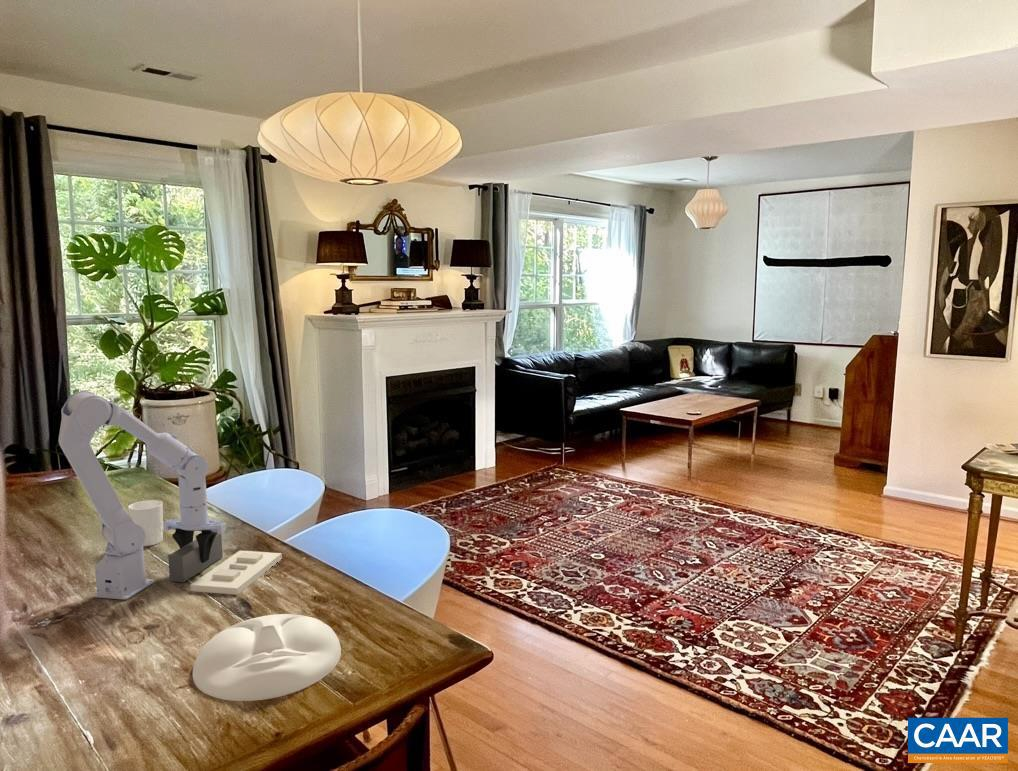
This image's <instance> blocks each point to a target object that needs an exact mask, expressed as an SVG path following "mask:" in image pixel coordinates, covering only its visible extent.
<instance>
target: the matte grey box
mask: <svg viewBox="0 0 1018 771" xmlns="http://www.w3.org/2000/svg"><path fill="white" fill-rule="evenodd" d="M223 557H224V556H223V537H222V534H218V533H217V535H216V537H215V539H214V541H213V544H212V547H211V550H210V555H209V560H207V561H206V562H204V563H201V560H200V549H199V545H198V542H197V539H196V538H195V539H193V541H192V542H191V543H189V544H187V545H185V546H184V547H182V548H180V547H179V548H178V549H177V550H176V551H173V552H172V553H171V554H170V553H169V555H168V568H169V571H168V572H169V581H170V582H179V583H185V582H186V581H188V580H190V579H191V578H193V577H195V576H196V575H198V574H199V573H201V572H202V571H204V570H205V569H206V568H208V567H209V566H212V565H213V564H214V563H216V562H218V561H219V560H220V559H222V558H223Z"/></svg>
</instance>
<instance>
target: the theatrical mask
mask: <svg viewBox="0 0 1018 771" xmlns="http://www.w3.org/2000/svg"><path fill="white" fill-rule="evenodd" d="M341 655H342V647H341V642H340V640H339V638H338V636H337V634H336V633H335V631H334V630H333V628H332V627H331V626H330V625H328V624H326V623H325V622H323V621H321V620H320V619H318V618H315V617H310V616H307V615H302V614H292V613H280V614H269V615H268V614H267V615H262V616H258V617H253V618H250V619H246V620H244V621H241V622H238V623H235V624H233V625H231V626H228V627H226V628H225V629H223V630H221V631H219V632H218V633H216V634H215V635H214V636H213V637H212V638H211V639H210V640H208V642H207V643H205V644H204V645H203V646H202V647H201V649H200V650H199V652H198V653H197V655H196V658H195V659H194V660H195V661H194V663H193V667H192V679H193V683H194V685H195V687H196V688H197V689H198V690H199V691H201V692H203V693H204V694H205V695H208V696H210V697H212V698H216V699H220V700H225V701H232V702H252V701H263V700H270V699H275V698H279V697H283V696H287V695H290V694H294V693H296V692H299V691H302V690H304V689H306V688H308V687H310V686H312V685H314V684H315V683H317V682H319V681H321V680H323V679H324V677H326V676H327V675H329V674H330V673H331V672H332V671H333V670H334V669H335V668H336V666H338V665H337V664H338V663H339V661H340V660H341Z"/></svg>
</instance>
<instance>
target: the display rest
mask: <svg viewBox="0 0 1018 771" xmlns="http://www.w3.org/2000/svg"><path fill="white" fill-rule="evenodd" d="M282 554H283V553H281V552H269V551H256V550H255V551H253V550H238V551H237V552H235V553H234V554H232V555H231V556H230V557H229V558H227V559H225V560H224V561H222V562H221V563H219V564H218V565H217V566H215V567H214V568H213V569H211V570H210V571H208V572H206V573H205V574H204V575H202V576H201V577H200V578H198V579H196V580H195V581H193V582H192V583H191V584H190V592H194V593H196V592H197V593H208V594H221V595H223V594H224V595H235V596H238V595H240V594H241V593H242V592H244V591H245V589H247V588H249V586H250V585H252V584H253V583H254V582H256V581H257V580H258V579H259V578H261V577H262V576H263V575H264V574H266V573H267V572H269V570H270V568H271V567H272V566H273V567H274V566H276V565H277V564H278V563H280V562H281V561H282V560H283V555H282ZM281 559H282V560H281ZM277 562H278V563H277ZM276 563H277V564H276ZM273 567H272V568H273ZM272 568H271V569H272ZM266 571H267V572H266ZM265 572H266V573H265ZM260 576H261V577H260Z"/></svg>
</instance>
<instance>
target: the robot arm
mask: <svg viewBox="0 0 1018 771" xmlns="http://www.w3.org/2000/svg"><path fill="white" fill-rule="evenodd" d="M103 425H106V426H109V427H110V426H111V427H112V426H113V427H119V428H121V429H123V430H125V432H127V433H129V434H130V435H132V436H133V437H135V438H136V439H138V440H140V441H141V442H143V443H145V444H146V446H147V452H148V454H149V455H150V456H152V457H153V458H155V459H156V460H158V461H159V462H161V463H163V464H164V465H166V466H167V467H168V468H171V469H172V470H174V472H175V473H176V474H178V475H177V478H178V497H179V512H180V513H179V514H180V519H179V518H178V519H167V520H166V521H165V520H164V521H163V531H169V530H175V531H174V533H172V536H171V537H172V539H173V540H174V542H176V544H177V546H178V548H179V549H180V548H182V547H184V546H185V545H187V544H189V543H191V542H192V541H194V536H195V540H196V539H197V542H198V545H199V549H200V560H201V563H204V562H206V561H207V560H209V555H210V550H211V547H212V544H213V541H214V539H215V537H216V535H217V533H218V534H221V535H222V534H224V533H225V532H227V523H226V522H220V521H215V520H212V519H209V517H208V516H209V515H208V499H207V498H208V496H207V482H206V477H207V475H208V474H209V471H210V465H208V462H207V459H206V458H205V457H203V456H201V455H200V454H198V453H196V452H194V451H195V448H193V447H192V446H191V445H190V446H187V445H185V444H184V443H182V442H181V441H180V440H178V435H177V434H174V433H172V432H171V433H168V432H159V433H158V432H157V431H155V430H153V429H152V428H151V427H149V426H148V425H146V423H144V422H142V421H141V420H140V419H139V418H138V417H137V416H135V415H133V414H132V413H131V412H129V411H128V410H126V408H123V407H121V406H120V405H117V404H116V403H113V402H111V401H109V400H107V398H104V397H102V396H99V395H96V394H95V393H93V392H91V391H88V390H79V391H76V392H74V393H73V394H71V395H70V396H69V397H68V398H67V400H66V401H65V403H64V405H63V406H62V408H61V421H60V428H59V434H58V445H59V446H60V449H61V450H62V452H63V454H64V456H65V457H66V460H67V461H68V463H69V464H70V466H71V468H72V471H73V472H74V474H75V475H76V477H77V479H78V480H79V483H80V485H81V486H82V488H83V490H84V491H85V494H87V497H88V498H89V500H90V502H91V504H92V506H93V507H94V509H95V511H96V513H97V515H98V520H99V521H100V524H101V536H102V538H103V539H104V540H105V541H107V545H106V546H105V553H104V556H103V557H102V559H101V560H100V561H98V562H97V564H96V566H95V569H94V574H95V584H96V586H95V587H96V593H95V594H94V595H93V598H101V599H112V600H114V599H115V600H123V601H124V600H129V599H130V598H132V597H133V596H135V595H136V594H139V593H140V592H141V591H142V590H144V589H146V588H147V587H149V586H150V585H153V584H154V583H155V582H156V580H155V579H151V578H146V568H145V566H146V565H145V554H144V553H145V552H144V546H143V543H144V541H145V532H144V530H143V528H142V527H140V526H139V525H137V524H135V523H134V522H133V520H132V518H131V517H130V515H129V511H127V509H126V508H125V507H124V505H123V503H122V501H121V500H120V498H119V497H118V494H117V493H116V491H115V489H114V487H113V485H112V484H111V481H110V479H109V478H108V476H107V474H106V472H105V470H104V468H103V467H102V465H101V463H100V461H99V459H98V458H97V455H96V454H95V452H94V450H93V449H92V446H91V445H90V443H91V441H92V439H93V438H94V435H95V433H96V432H97V431H98V430H99V429H100V428H101V427H102V426H103ZM195 532H200V533H198V534H196V535H194V534H195Z"/></svg>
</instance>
